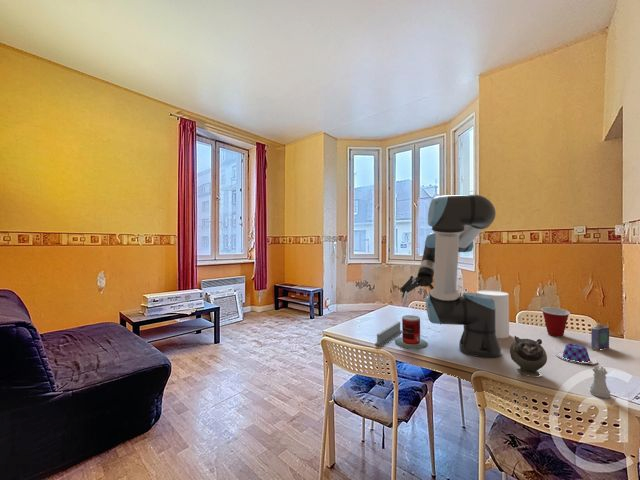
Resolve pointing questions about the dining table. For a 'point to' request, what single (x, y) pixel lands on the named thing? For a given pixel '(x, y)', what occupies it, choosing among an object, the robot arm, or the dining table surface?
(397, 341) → the resting mat
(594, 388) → the rook chess piece
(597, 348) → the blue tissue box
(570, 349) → the checkered hat
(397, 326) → the plastic divider
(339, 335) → the dining table surface
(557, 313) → the plastic cup
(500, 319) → the canister
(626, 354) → the dining table surface
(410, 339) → the canned food
